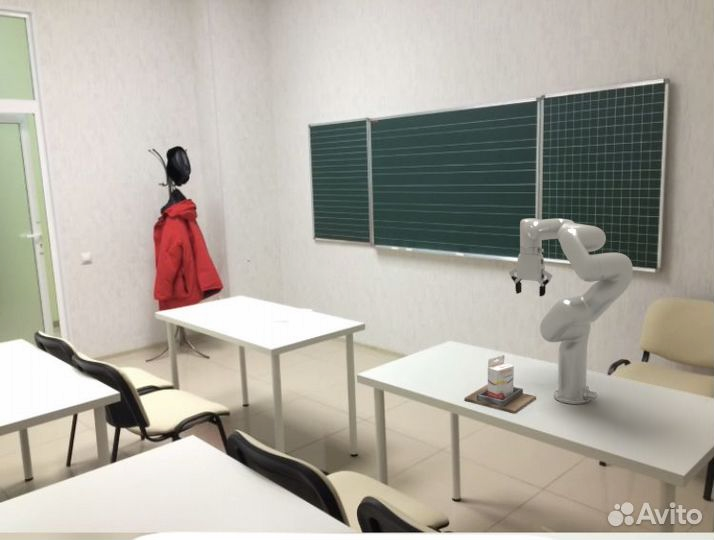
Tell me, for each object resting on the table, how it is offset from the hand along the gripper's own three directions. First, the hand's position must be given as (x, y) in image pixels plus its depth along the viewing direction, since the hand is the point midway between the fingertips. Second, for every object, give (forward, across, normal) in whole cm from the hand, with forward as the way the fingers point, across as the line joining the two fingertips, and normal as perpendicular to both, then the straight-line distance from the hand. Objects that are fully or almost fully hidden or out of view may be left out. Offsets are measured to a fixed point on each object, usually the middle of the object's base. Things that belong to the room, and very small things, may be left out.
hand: (530, 294), depth 237 cm
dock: (+33, -2, +28) cm, 44 cm away
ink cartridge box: (+32, -2, +28) cm, 43 cm away
